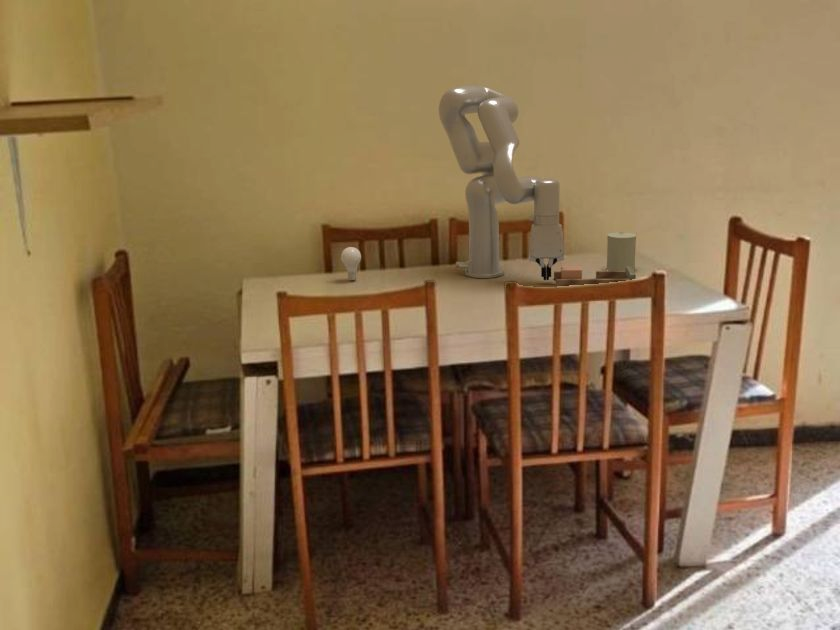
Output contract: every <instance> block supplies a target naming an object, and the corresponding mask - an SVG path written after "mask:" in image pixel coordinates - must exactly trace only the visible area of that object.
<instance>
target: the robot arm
mask: <svg viewBox="0 0 840 630" xmlns="http://www.w3.org/2000/svg"><path fill="white" fill-rule="evenodd" d="M466 114H467V115H468V114H477V116H478V119H479V121H480V124H481V126H482V128H483V131H484V132H485V135H486V137H487V140H488V141H481V142H480V140H479V138H478V136H477V134H476V131H475V128H474V126H473V125H472V123H471V122H470V121H469V120H468V118H466V116H465V115H466ZM438 116H439V120H440V123H441V125H442V126H443V130H444V131H445V133H446V134H447V138H448V140H449V142H450V143H449V144H450V146H451V148H452V150H453V153H454V156H455V159H456V161H457V164H458V166H459V168H460V170H461V172H462V173H464V174H466V175H475V174H477V175H478V174H481V175H480V176H476V177H474V178H472V179H471V180H470V181H468V183H467V185H466V187H465V200H466V201H465V202H466V205H467V206H466V207H467V211H468V214H467V215H468V241H469V242H468V244H469V246H468V249H469V252H468V253H469V254H468V255H469V258H468V260H465V261H455V268H456V269H465V270H464V275H466V277H470V278H477V279H490V278H491V279H492V278H498V277H501V276H503V275H504V274H505V271H504V268H502V267H500V224H499V223H500V222H499V221H500V220H499V215H498V212H497V209H496V206H495V205H496V204H500V203H504V202H507V203H508V204H511V205H519V204H525V203H528V202H533V215H531V216H529V217H528V218H529V219H528V221H529V222H533V223H532V224H531V227H530V233H529V235H530V236H529V255H528V260H529V262H534V263H536V264H537V265H539V267H541V269H540V272H541V275H540V276H541V278H543V281H550V278H552V268H553V266H554V265H555V264H557V262H562V261H564V260H565V257H564V252H565V251H564V231H563V225H562V224H561V223H560V182H559V180H557V179H555V178H541V177H536V176H531V175H530V176H529V175H527V176H524V177H519V178H518V176H517V174H516V172H515V169H514V165H513V156H514V153H515V151H516V150H517V148H518V147H519V146H520V139H519V137H518V134H517V133H516V130H515V128H514V125H513V123H515V122H516V121H517V119H518V117H519V108H518V104H516V101H514V99H512V98H511V97H509V96H507V95H505V94H503V93H500V92H498V91H496V90H493V89H491V88H489V87H486V86H484V85H476V84H475V85H462V86H461V85H459V86H455V87H452V88H450V89H448V90H446V91H445V92H444V94H443V95H442V96H441V98H440V100H439V105H438ZM544 259H548V261H547V264H545V260H544Z"/></svg>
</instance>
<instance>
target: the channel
mask: <svg viewBox="0 0 840 630" xmlns="http://www.w3.org/2000/svg"><path fill="white" fill-rule="evenodd" d="M636 276H637V275H636V273H635V271H633V269H632V268H631V266H626V270H625V271H607V270H596V272H595V278H582V279H561V270H554V271H553V280H554V281H555V285H554V286H556V287H557V286H569V285H584V284H599V283H609V282H618V281H626V280H632V279H636ZM556 287H555V288H556Z"/></svg>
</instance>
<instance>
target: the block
mask: <svg viewBox="0 0 840 630" xmlns="http://www.w3.org/2000/svg"><path fill="white" fill-rule="evenodd" d="M560 271H561V279H583V269H582V265H561V267H560Z"/></svg>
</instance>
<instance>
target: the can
mask: <svg viewBox="0 0 840 630" xmlns="http://www.w3.org/2000/svg"><path fill="white" fill-rule="evenodd" d="M606 239H607V247H606V248H607V251H606V252H607V254H606V255H607V256H606V270H605V271H607V270H608V271H625V270H626V266H631V268H632V269H633V271H634V272H636V245H637V244H636V243H637V234H636V233H633V232H626V231H625V232H622V231H621V232H619V231H618V232H617V231H616V232H610V233H608V234H607V238H606Z"/></svg>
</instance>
